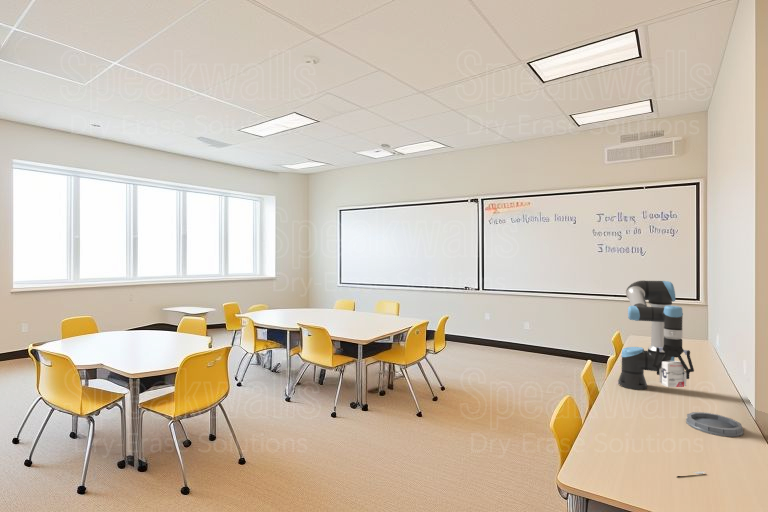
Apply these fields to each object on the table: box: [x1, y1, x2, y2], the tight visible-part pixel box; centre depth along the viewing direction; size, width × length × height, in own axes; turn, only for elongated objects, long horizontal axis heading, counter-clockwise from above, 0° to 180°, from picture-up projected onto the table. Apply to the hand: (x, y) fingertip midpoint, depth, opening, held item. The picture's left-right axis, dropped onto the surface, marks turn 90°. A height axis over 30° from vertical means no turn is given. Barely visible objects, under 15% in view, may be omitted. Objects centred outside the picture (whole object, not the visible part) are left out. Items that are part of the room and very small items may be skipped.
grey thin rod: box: [692, 470, 706, 474], centre depth 155 cm, size 12×1×1 cm, turn 99°
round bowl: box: [685, 411, 744, 438], centre depth 197 cm, size 21×21×3 cm
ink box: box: [660, 360, 685, 388], centre depth 205 cm, size 8×5×12 cm, turn 94°
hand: (672, 383), depth 205 cm, fingers closed on ink box, 9 cm apart
